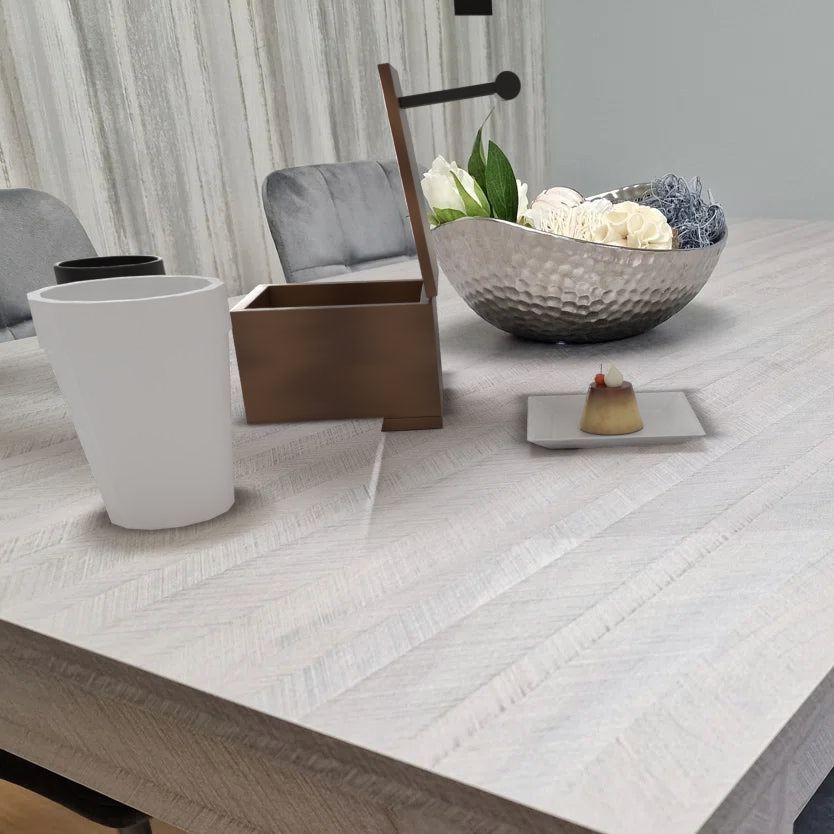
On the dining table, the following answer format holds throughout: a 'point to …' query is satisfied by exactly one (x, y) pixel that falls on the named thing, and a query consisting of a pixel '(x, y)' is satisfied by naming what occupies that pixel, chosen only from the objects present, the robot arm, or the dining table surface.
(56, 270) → the mug
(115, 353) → the foam cup
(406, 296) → the basket
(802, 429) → the dining table surface
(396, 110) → the wooden box lid
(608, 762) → the dining table surface
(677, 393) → the dessert
